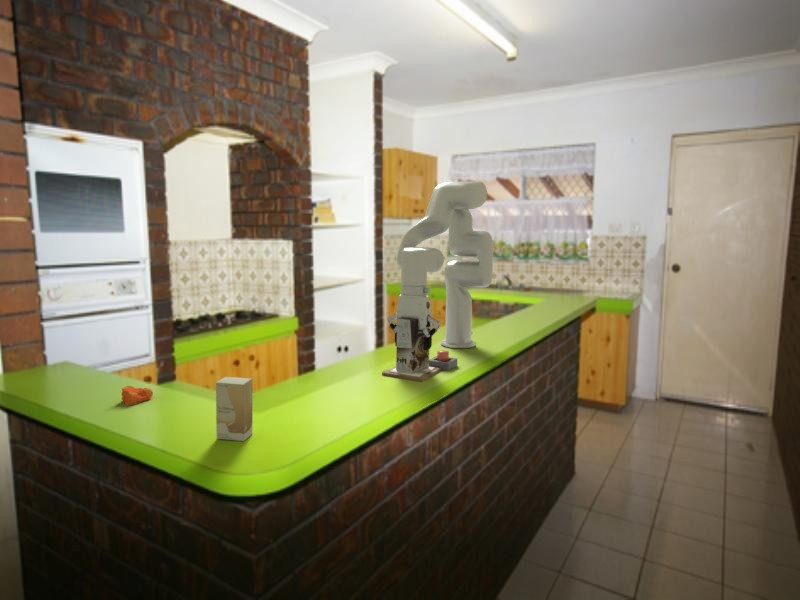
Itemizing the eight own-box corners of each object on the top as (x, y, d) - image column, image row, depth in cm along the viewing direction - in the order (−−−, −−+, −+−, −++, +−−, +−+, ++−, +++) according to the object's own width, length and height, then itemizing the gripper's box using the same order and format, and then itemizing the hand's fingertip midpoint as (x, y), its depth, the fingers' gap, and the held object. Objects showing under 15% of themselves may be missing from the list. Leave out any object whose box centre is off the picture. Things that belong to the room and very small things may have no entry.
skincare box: (215, 439, 108) (213, 381, 106) (226, 431, 112) (224, 375, 111) (245, 441, 107) (243, 383, 105) (254, 433, 111) (252, 377, 110)
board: (404, 364, 168) (404, 361, 168) (441, 370, 162) (441, 367, 162) (382, 374, 156) (382, 371, 156) (421, 381, 150) (421, 378, 150)
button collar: (437, 362, 171) (437, 355, 170) (457, 365, 167) (457, 358, 167) (427, 367, 165) (427, 360, 164) (448, 370, 161) (448, 363, 161)
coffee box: (413, 374, 153) (413, 320, 151) (395, 370, 157) (396, 317, 155) (430, 367, 161) (431, 315, 158) (412, 364, 165) (413, 313, 162)
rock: (175, 400, 133) (174, 384, 133) (128, 415, 123) (127, 397, 122) (145, 392, 140) (144, 376, 139) (98, 405, 129) (97, 388, 128)
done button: (440, 359, 168) (440, 349, 168) (450, 361, 166) (450, 351, 166) (435, 361, 165) (435, 352, 165) (445, 363, 163) (445, 353, 163)
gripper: (445, 291, 155) (444, 348, 157) (394, 287, 163) (394, 341, 165) (434, 294, 148) (433, 353, 150) (382, 290, 156) (381, 346, 159)
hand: (412, 347), depth 158 cm, fingers open, 9 cm apart
